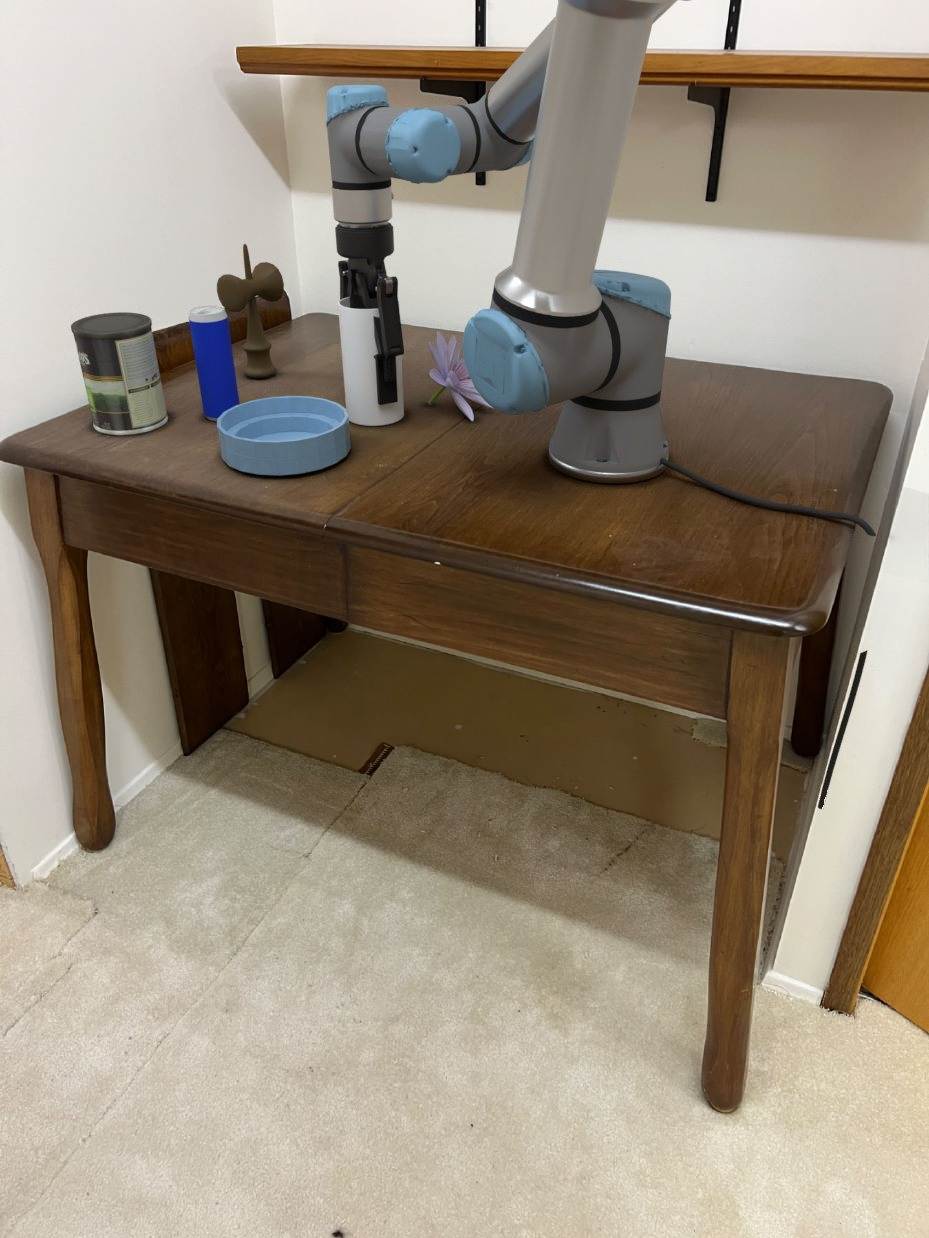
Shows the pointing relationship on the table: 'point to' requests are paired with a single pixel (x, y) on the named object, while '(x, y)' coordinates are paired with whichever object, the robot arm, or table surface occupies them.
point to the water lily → (453, 374)
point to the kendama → (253, 309)
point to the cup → (364, 368)
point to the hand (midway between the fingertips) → (374, 393)
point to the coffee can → (120, 372)
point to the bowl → (284, 435)
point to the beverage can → (214, 360)
